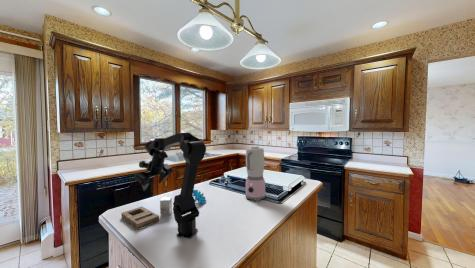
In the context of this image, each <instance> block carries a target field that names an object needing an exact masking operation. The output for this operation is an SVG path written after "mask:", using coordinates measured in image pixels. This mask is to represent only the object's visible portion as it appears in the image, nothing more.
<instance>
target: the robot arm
mask: <svg viewBox="0 0 475 268" xmlns="http://www.w3.org/2000/svg"><path fill="white" fill-rule="evenodd" d="M178 144H179V148H180V150H181V151H182V157H183V158H184V161H185V165H184V171H183V176H182V177H183V178H182V183H181V189H180V193H179V194H177V195H175V196H174V198H173V202H172V205H173V206H172V213H173V217H174V221H175V222H176V223H175V224H177V232H178V233H177V234H176V237H178V238H179V237H180V238H185V239H191V238H192V237H193V236H194V235H195V234H196V233H197V232H198V231H199V229H198V228H197V221H196V219H197V218H198V217H199V216H200V211H199V209H198V207H197V205H196V202H195V196H193V190H195V185H196V179H197V175H198V174H197V173H198V169H199V168H198V167H199V164H200V163H201V162H202V161H203V160H204V158H205V156H206V152H207V146H206V144H205V142H203V141H202V140H201V139H200V138H198V137H196V136H195V135H193V134H192V133H191V132H189V131H179V132H177V133H176V134H173V135H170V136H167V137H158V138H157V137H156V138H154V139H149V141H147V142H146V144H145V145H144V150H145V151H146V152H147V153H148V154H149V156H151V158H150V159H146V160H140V161H139V163H138V166H139V168H140V169H141V168H142V169H146V171H147V172H149V173H146V172H145V171H142V172H138V173H136V174H135V175H134V180H135V181H136V182H137V183H139V184H140V185H141V187H142V190H143V192H145V191H146V190H147V189H148V187H149V185H150V181H151V178H153V177H156V176H158V184H159V185H160V184H161V183H163V181H164V180H166V178H167V177H169V175H170V174H172V173H173V170H174V168H173V167H172V166H170V165H169V163H165V160H166V159H167V158H169V156H168V154H167V152H166V150H170V149H171V148H172V147H173V146H176V145H178Z"/></svg>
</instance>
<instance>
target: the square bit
mask: <svg viewBox="0 0 475 268" xmlns="http://www.w3.org/2000/svg"><path fill="white" fill-rule="evenodd" d="M172 205H173V201H172V196H165V197H164V196H162V197H161V199H160V200H159V209H160V213H159V217H170V216H171V214H172V213H173V206H172Z"/></svg>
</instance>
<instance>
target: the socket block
mask: <svg viewBox="0 0 475 268" xmlns="http://www.w3.org/2000/svg"><path fill="white" fill-rule="evenodd" d="M121 219H123V220H124V221H125V222H126V223H127V224H129V225H130V226H132V227H133V228H135V230H141V229H143V228H145V227H148V226H149V225H153V224H156V223H157V222H160V214H157V213H155V212H153V211H151V210H149V209H147V208H146V207H144V206H139V207H136V208H133V209H129V210H127V211H123V212H121Z"/></svg>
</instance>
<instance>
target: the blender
mask: <svg viewBox="0 0 475 268" xmlns="http://www.w3.org/2000/svg"><path fill="white" fill-rule="evenodd" d="M245 168H246V174H247V176H246V179H245V199H246V200H249V199H250V200H255V202H260V200H262V199H265V198H266V197H265V196H266V179H265V178H264V169H265V150H264V148H262V147H260V146H258V145H256V146H255V145H253V146H252V145H251V146H250V147H249V148H245Z"/></svg>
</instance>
